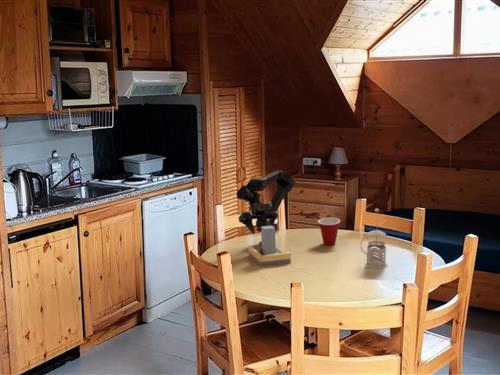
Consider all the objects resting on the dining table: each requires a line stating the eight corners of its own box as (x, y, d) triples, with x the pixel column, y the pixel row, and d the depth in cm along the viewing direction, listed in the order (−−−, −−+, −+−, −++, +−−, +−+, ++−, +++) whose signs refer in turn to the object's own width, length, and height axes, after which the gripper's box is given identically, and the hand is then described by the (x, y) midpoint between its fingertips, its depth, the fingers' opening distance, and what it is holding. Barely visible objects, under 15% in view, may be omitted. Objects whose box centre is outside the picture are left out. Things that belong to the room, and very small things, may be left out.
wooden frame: (248, 255, 274) (248, 246, 273) (277, 252, 278) (277, 242, 277) (260, 266, 257) (260, 256, 256) (290, 262, 261) (290, 253, 260)
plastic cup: (314, 245, 288) (314, 221, 286) (322, 240, 297) (322, 216, 295) (335, 247, 283) (335, 223, 281) (343, 242, 292) (343, 218, 290)
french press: (388, 268, 249) (389, 211, 245) (360, 267, 252) (360, 210, 247) (387, 261, 259) (388, 206, 254) (360, 261, 261) (361, 205, 257)
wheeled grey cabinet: (258, 254, 269) (257, 226, 266) (274, 252, 271) (273, 224, 268) (264, 259, 261) (263, 230, 258) (280, 257, 263) (279, 229, 260)
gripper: (245, 195, 269) (252, 226, 262) (279, 196, 278) (288, 225, 271) (235, 206, 278) (242, 236, 271) (269, 206, 287) (276, 236, 280)
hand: (262, 233), depth 273 cm, fingers open, 9 cm apart
